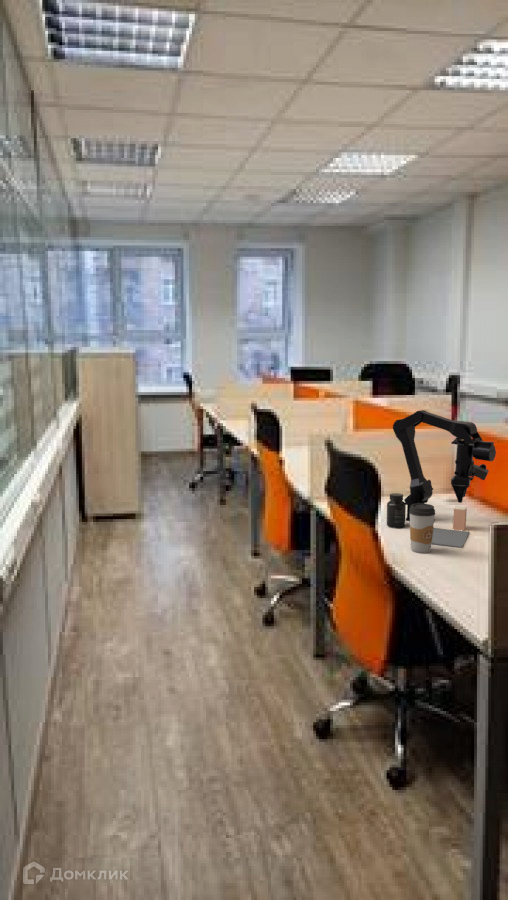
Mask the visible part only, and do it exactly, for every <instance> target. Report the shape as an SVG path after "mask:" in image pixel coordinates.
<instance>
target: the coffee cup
mask: <svg viewBox="0 0 508 900" xmlns="http://www.w3.org/2000/svg"><path fill="white" fill-rule="evenodd" d="M409 513H410V521H409V536H410V537H409V538H410V549H411V551H412V552H413V553H417V554H428V553H430V551H431V549H432V544H431V543H432V537H433V528H435V526H434V523H435V515H436V509H435V506H434V505H432V504H428V503H425V504H423V503H417V504H412V505H411V508H410V511H409Z"/></svg>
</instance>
